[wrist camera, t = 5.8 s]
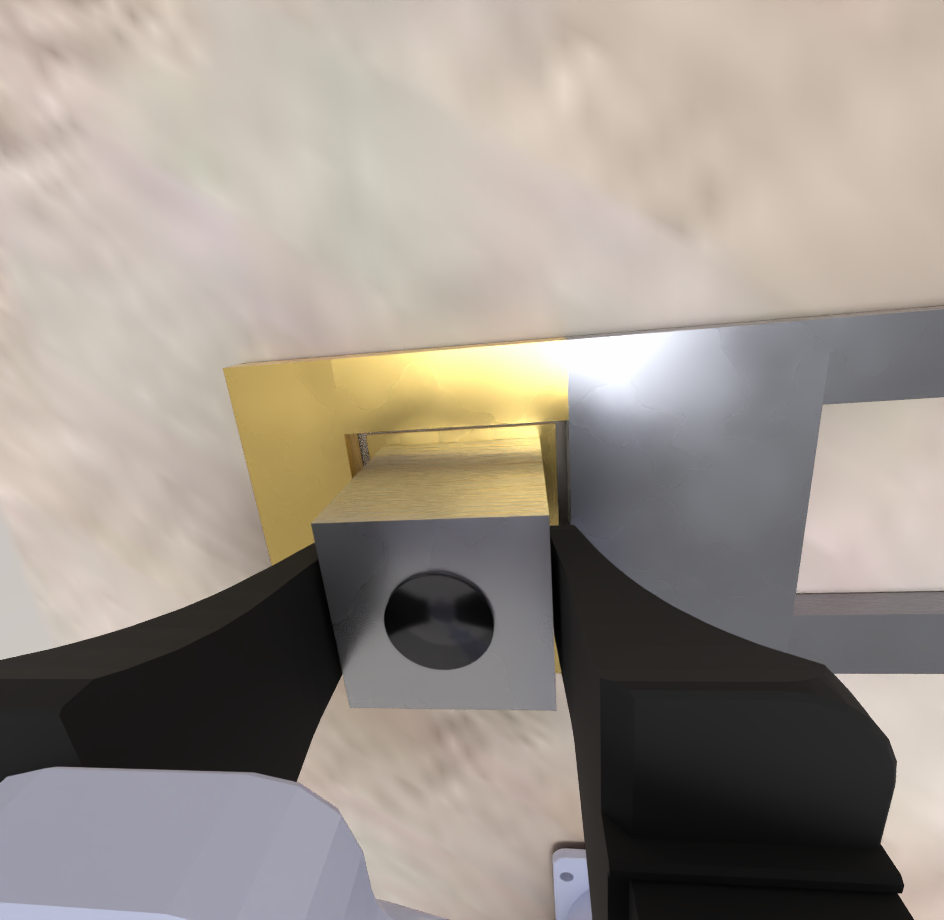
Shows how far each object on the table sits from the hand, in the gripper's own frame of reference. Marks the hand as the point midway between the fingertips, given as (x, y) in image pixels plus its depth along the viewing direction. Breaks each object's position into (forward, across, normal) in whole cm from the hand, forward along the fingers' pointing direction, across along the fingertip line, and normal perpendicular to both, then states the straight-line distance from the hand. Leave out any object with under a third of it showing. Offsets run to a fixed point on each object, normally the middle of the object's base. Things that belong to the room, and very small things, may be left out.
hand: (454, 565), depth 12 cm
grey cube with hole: (+3, 0, 0) cm, 3 cm away
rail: (+3, -6, 0) cm, 7 cm away
